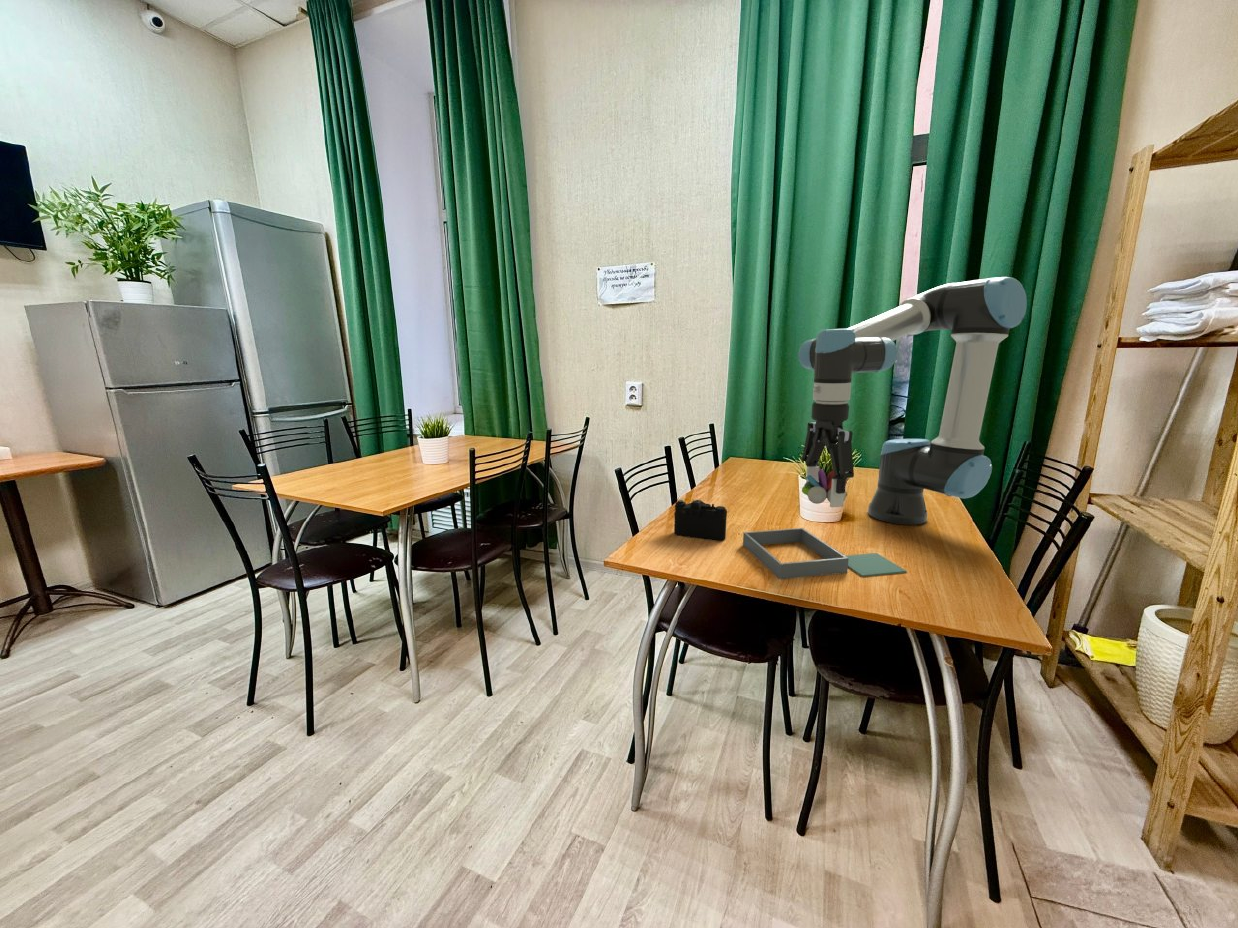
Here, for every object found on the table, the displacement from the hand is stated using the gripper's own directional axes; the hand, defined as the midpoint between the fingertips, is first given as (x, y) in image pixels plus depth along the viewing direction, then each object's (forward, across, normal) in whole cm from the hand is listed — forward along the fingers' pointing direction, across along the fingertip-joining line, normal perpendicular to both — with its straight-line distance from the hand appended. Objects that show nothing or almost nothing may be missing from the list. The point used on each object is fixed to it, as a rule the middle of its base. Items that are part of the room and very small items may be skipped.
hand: (823, 499), depth 112 cm
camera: (+15, -22, -22) cm, 34 cm away
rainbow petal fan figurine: (0, 0, 0) cm, 0 cm away
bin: (+15, -2, -6) cm, 16 cm away
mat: (+15, +5, +10) cm, 19 cm away
